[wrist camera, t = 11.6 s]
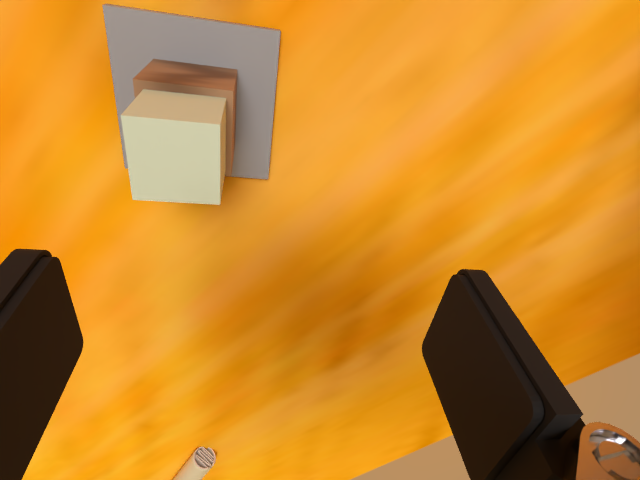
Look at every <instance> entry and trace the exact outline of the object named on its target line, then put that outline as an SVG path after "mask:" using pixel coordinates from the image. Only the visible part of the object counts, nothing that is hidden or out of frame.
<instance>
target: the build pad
mask: <svg viewBox="0 0 640 480" xmlns="http://www.w3.org/2000/svg"><path fill="white" fill-rule="evenodd" d="M103 12H104V19H105V26H106V34H107V41H108V48H109V55H110V63H111V70H112V77H113V84H114V92H115V99H116V106H117V113H118V121H119V128H120V135H121V142H122V150H123V157H124V164H125V168H128V163H127V156H126V149H125V142H124V135H123V128H122V121H121V114H122V113H123V112H124V111H125V110H126V109H127V107H128V106H129V105H130V104H131V103H132V102H133V100H134V99H135V96H134V87H133V78H134V77H135V76H136V75H137V74H138V73H139V72H140V71H141V70H142V69H143V68H145V67H146V66H147V65H148V64H149V63H150V62H151V61H152V60H153V59H160V60H168V61H176V62H184V63H191V64H199V65H207V66H215V67H223V68H230V69H237V99H236V132H235V149H234V158H233V166H232V174H231V176H232V177H245V178H257V179H268V175H269V163H270V152H271V140H272V128H273V116H274V104H275V92H276V80H277V68H278V56H279V44H280V33H281V31H280V30H278V29H272V28H265V27H258V26H252V25H245V24H238V23H232V22H225V21H218V20H211V19H205V18H198V17H191V16H185V15H178V14H171V13H165V12H158V11H151V10H145V9H138V8H131V7H125V6H118V5H111V4H104V5H103Z"/></svg>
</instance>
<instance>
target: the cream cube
mask: <svg viewBox="0 0 640 480" xmlns="http://www.w3.org/2000/svg"><path fill="white" fill-rule="evenodd" d="M121 121H122V128H123V135H124V142H125V149H126V156H127V163H128V170H129V177H130V184H131V191H132V198H133V200H146V201H163V202H180V203H197V204H215V205H220V203H221V197H222V190H223V184H224V177H225V170H226V98H222V97H212V96H203V95H194V94H184V93H175V92H165V91H156V90H147V89H143V90H142V91H141V92H140V94H139V95H138V96H137V97H136V98H135V99H134V100H133V102H132V103H131V104H130V105H129V106H128V107H127V109H126V110H125V111H124V112H123V113H122V114H121Z"/></svg>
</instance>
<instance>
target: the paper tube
mask: <svg viewBox="0 0 640 480" xmlns="http://www.w3.org/2000/svg"><path fill="white" fill-rule="evenodd" d="M215 460H216V456H215V453H214V451H213V450H212V449H211V448H208V449H207V450H206V449H205V448H204V447H199V448H197V449H196V450H195V452H194V453H193V454H192V456H191V457H190V458H189V459H188V461H187V462H186V463H185V465H184V466H183V467H182V468H181V470H180V471H179V472H178V474H177V475H176V476H175V477H174V479H173V480H202V478H203V477H204V476H205V475H206V474H207V472H208V471H209V470H210V469H211V468H212V466H213V465H214V464H215Z"/></svg>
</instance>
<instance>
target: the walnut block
mask: <svg viewBox="0 0 640 480" xmlns="http://www.w3.org/2000/svg"><path fill="white" fill-rule="evenodd" d="M133 87H134V96H135V98H136V97H137V96H138V95H139V94H140V92H141V91H142V90H143V89H147V90H156V91H165V92H175V93H184V94H194V95H203V96H212V97H222V98H226V170H225V176H231V174H232V166H233V158H234V149H235V132H236V99H237V69H230V68H223V67H215V66H207V65H199V64H191V63H184V62H176V61H168V60H160V59H153V60H152V61H151V62H150V63H149V64H148V65H147V66H146V67H145V68H143V69H142V70H141V71H140V72H139V73H138V74H137V75H136V76H135V77H134V78H133Z"/></svg>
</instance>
